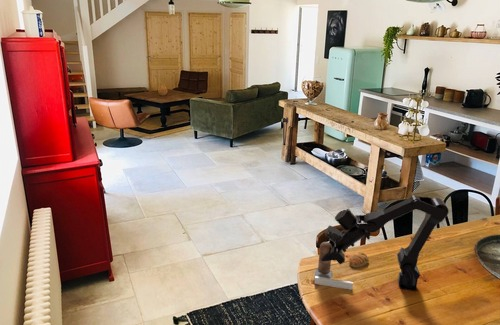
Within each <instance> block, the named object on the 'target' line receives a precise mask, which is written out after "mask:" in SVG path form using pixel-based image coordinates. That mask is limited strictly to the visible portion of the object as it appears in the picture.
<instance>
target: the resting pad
mask: <svg viewBox="0 0 500 325" xmlns="http://www.w3.org/2000/svg"><path fill="white" fill-rule="evenodd" d="M315 276H317V277H324V278H330V279H333V278H332V277H333V270H330V273H328V274H322V273H320V272H319V271H318V267H317V268H315V271H314V277H313V279H314V280H315Z"/></svg>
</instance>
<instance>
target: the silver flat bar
mask: <svg viewBox="0 0 500 325" xmlns="http://www.w3.org/2000/svg"><path fill="white" fill-rule="evenodd" d="M314 277H315V279H314V285H321V286H327V287H333V288H338V289H345V290H351V291H353V286H354V282H353V281H348V280H342V279H335V278H332V279H330V278H324V277H317V276H315V275H314Z"/></svg>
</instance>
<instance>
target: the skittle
mask: <svg viewBox="0 0 500 325" xmlns="http://www.w3.org/2000/svg"><path fill="white" fill-rule="evenodd" d="M329 248H331V249H332V246H331V244H330V243H329V241H323V242H321V243H320V245H319V253H318V266H317V269H318V271H319V272H320V273H322V274H328V273H330V271H331V266H332V265H331V264H332V260H330V261H322V260H321V259H322V258H323V257H324V256H325V255H326V254H327V253H328V252H329Z"/></svg>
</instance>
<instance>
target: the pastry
mask: <svg viewBox="0 0 500 325" xmlns="http://www.w3.org/2000/svg"><path fill="white" fill-rule="evenodd" d="M369 262H370V260H369V257H368V255H367V254H366V253H364V252H360V251H359V252H357V253H355V254H354V255H352V256H351V257H350V259H349V263H348V264H349V266H350V267H353V268H360V267H364V266H366V265H367V264H368V263H369Z"/></svg>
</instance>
